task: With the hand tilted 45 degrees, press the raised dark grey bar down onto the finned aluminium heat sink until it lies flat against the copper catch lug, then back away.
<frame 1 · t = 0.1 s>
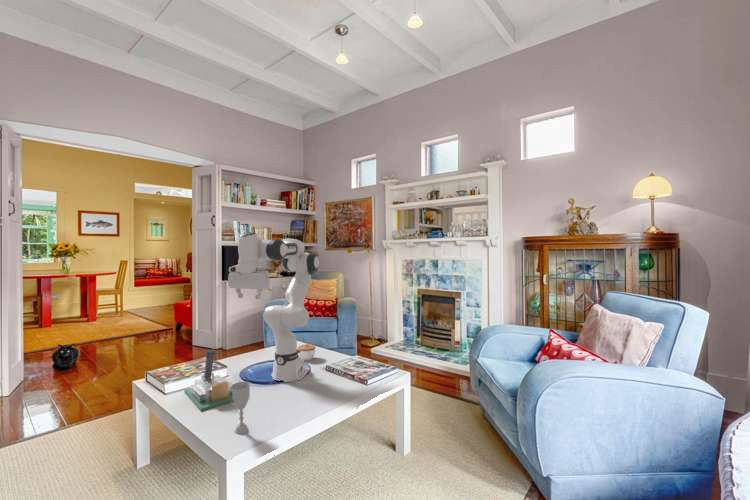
hand: (249, 298, 161), 48 cm above the table, tool pointing down, fingers open, 8 cm apart
circuit board: (212, 395, 170), on the table
heat sink: (212, 385, 169), on the circuit board, point 5 cm above the table
chalice: (241, 431, 138), on the table
catch lug: (219, 391, 162), on the circuit board, point 5 cm above the table
lidded jar: (306, 359, 221), on the table
dark grey bar: (208, 364, 173), point 14 cm above the table, hinge at 70.0°
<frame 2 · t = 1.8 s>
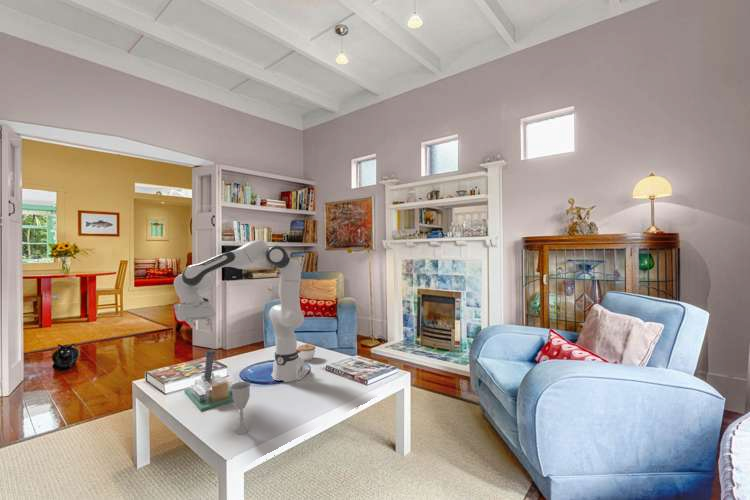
hand: (201, 326, 172), 33 cm above the table, tool tilted 40°, fingers open, 8 cm apart
nothing on the table moved.
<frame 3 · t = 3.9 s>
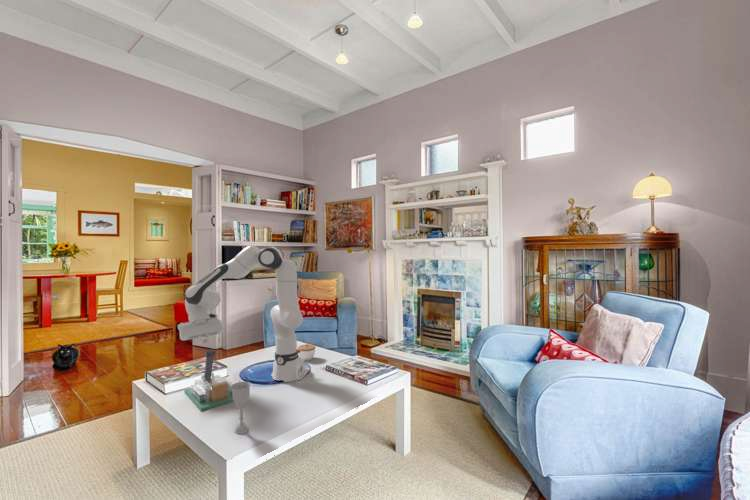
hand: (205, 343, 177), 23 cm above the table, tool tilted 45°, fingers closed
nothing on the table moved.
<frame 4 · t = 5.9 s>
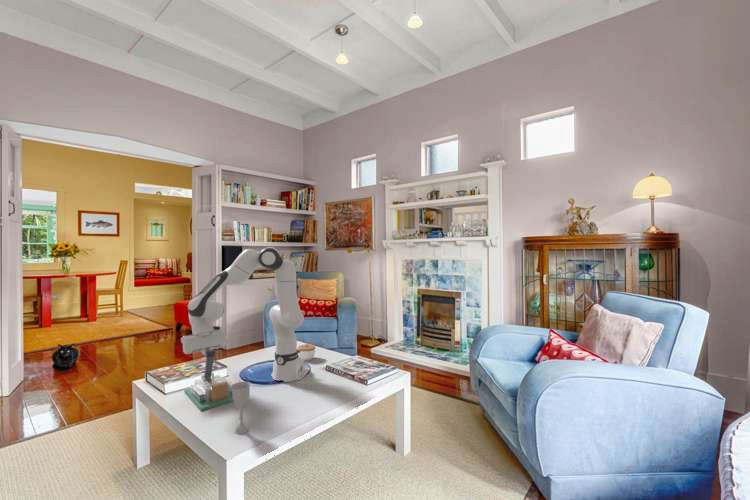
hand: (209, 356, 172), 18 cm above the table, tool tilted 45°, fingers closed, pressing on dark grey bar
dark grey bar: (208, 364, 173), point 14 cm above the table, hinge at 68.4°, touching gripper
everything else where it was.
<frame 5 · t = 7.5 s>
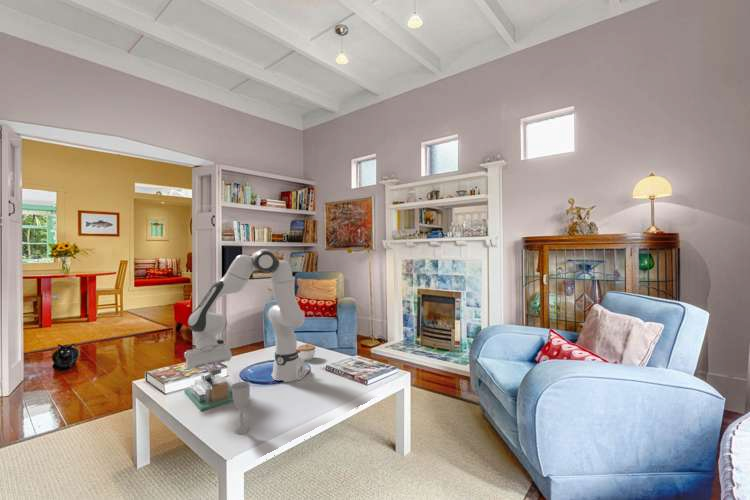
hand: (212, 372, 168), 12 cm above the table, tool tilted 45°, fingers closed, pressing on dark grey bar
dark grey bar: (211, 374, 170), point 10 cm above the table, hinge at 23.9°, touching gripper
everything else where it was.
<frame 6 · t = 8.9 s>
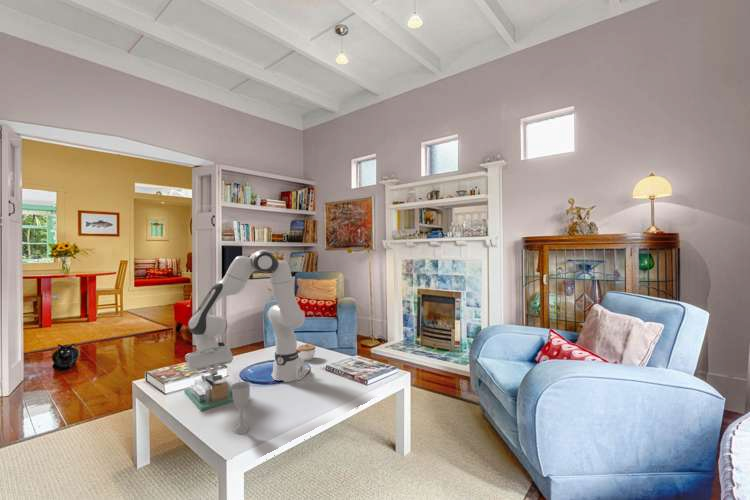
hand: (214, 374, 167), 11 cm above the table, tool tilted 45°, fingers closed
dark grey bar: (212, 377, 169), point 9 cm above the table, hinge at 12.7°
everything else where it was.
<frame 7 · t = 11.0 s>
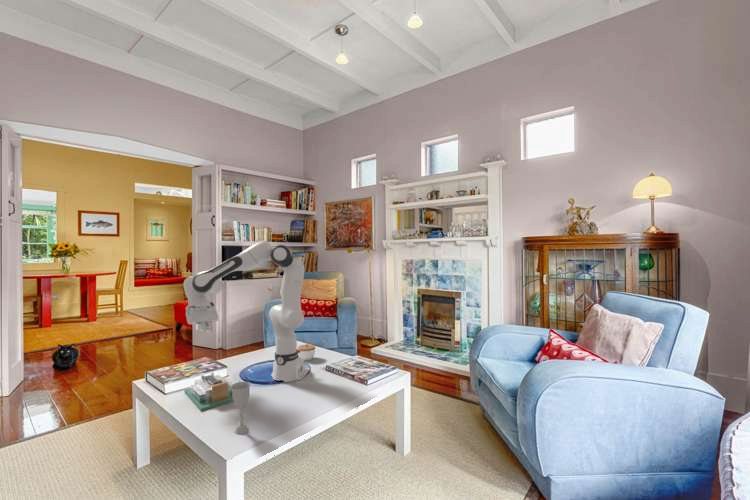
hand: (207, 331, 180), 28 cm above the table, tool tilted 30°, fingers closed
dark grey bar: (212, 380, 169), point 8 cm above the table, hinge at 2.6°
everything else where it was.
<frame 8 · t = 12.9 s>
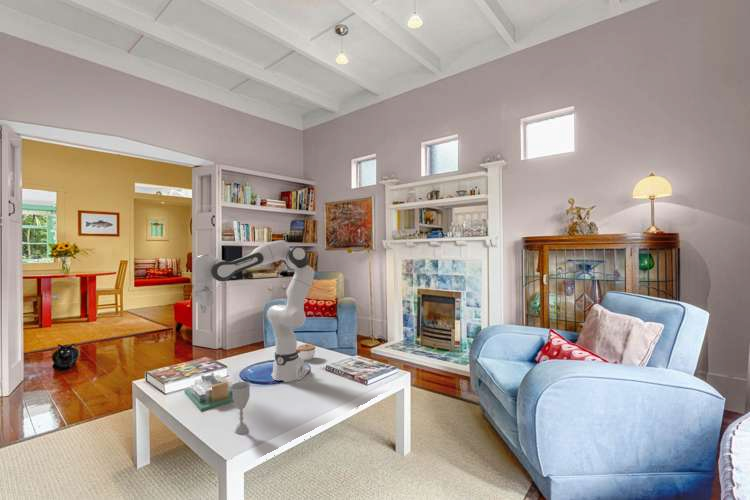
hand: (203, 312, 182), 37 cm above the table, tool pointing down, fingers closed
dark grey bar: (212, 380, 169), point 7 cm above the table, hinge at -0.1°
everything else where it was.
at the end: dark grey bar at +0° (first picture: +70°); chalice moved 0.2 cm from its start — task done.
